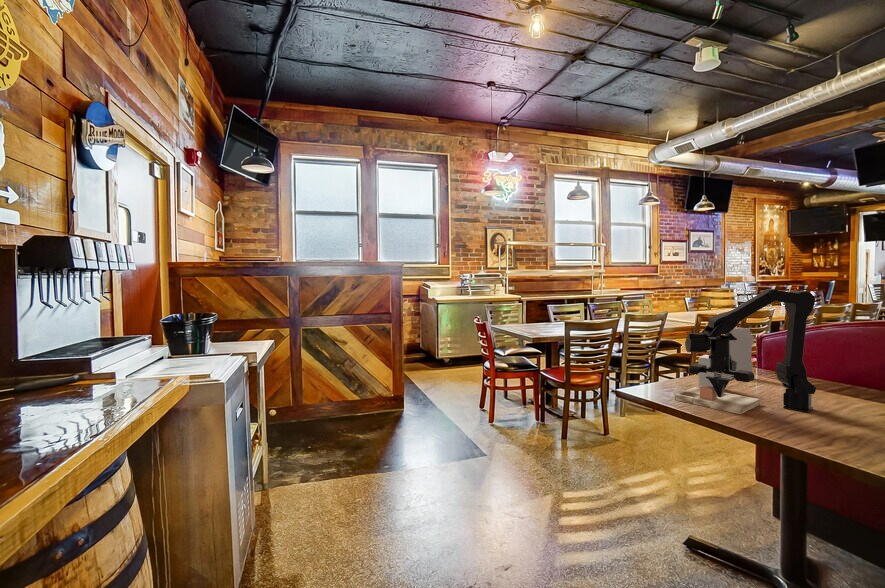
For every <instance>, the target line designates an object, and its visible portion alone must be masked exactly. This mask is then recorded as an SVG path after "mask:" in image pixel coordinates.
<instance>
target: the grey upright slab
mask: <svg viewBox="0 0 885 588" xmlns="http://www.w3.org/2000/svg"><path fill="white" fill-rule="evenodd" d="M729 333H732V335H733V336H734V337H735V338H737V340H730V355H731V357H732V360H733V361H735V362H737V366H736V371H739V370H744V371H751V372H753V371H754V369H753V360H752V351H753V350H752V349H753V345H754V343H755V342H754V341H755V340H754V339H755V336H754V335H752V333H751V329H750V328H746V327H745V328H744V327H737V326H736V327H735V328H734V329H733V330H732V331H731V332H729ZM730 371H731V370H730ZM736 371H732V372H736Z"/></svg>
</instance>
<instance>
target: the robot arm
mask: <svg viewBox="0 0 885 588" xmlns="http://www.w3.org/2000/svg"><path fill="white" fill-rule="evenodd" d="M773 302H778V303H783V304H784V310H785V312H786V315H787V317H788V320H787V329H786V337H785V338H786V341H785V351H784V358H783V360H782V361H781V362H778V361H777V362H775V366H776V367H775V372H774V374H775V375H776V378H777V380H779V383H780V382H781V383H782V386H783V388H786V389H785V391H784V392H783V395H782V396H783V397H782V398H783V400H782V401H783V408H784V409H787V410H791V411H792V410H793V411H798V412H803V413H809V412H811V411H812V410H813V409H814V407H813V406H812V401H813V400H812V395H814V394H815V393H816V391H817V388H816V386H815V385H813V383H811V382H810V381H809V380H808V374H807V373H808V372H807V371H808V370H807V368H806V366H805V364H804V349H805V341H806V340H805V339H806V333H807V332H806V330H807V321H808V318H809V317H810V315H811V313H812V312H813V310H814V307H815V303H816V297H815V295H813V294H812V293H811V292H809V291H801V290H791V291H785V290H784V291H783V290H778V289H774V288H766V289H763V290H762V291H761V292H760V293H759V294H757V295H755V296H753V297H751V298H750V299H749V300H747V301H745V302H743V303H741V304H740V305H738V306H736V307H735V308H733V309H732V310H728V311H724V312H722V313H717V314H716V315H714V316H711V317H710V318H709V319H708V322H707V325H706V326H705V327H704V329H703V330H702V331H701V332H699V333H693V332H688V333H687V336H686V338H685V341H684V348H685V351H686V352H687V353H707V352H708V351H709V354H708V355H709V359H710V367H709V368H707V366H706V365H701V364H699V363H694V364H691V365H689V366H688V368H687V371H688V372H687V373H688V374H692V375H699V373H700V372H702V373H707V376H706V378H707V379H709V381H710V382H711V384H712V385H713V387H714V389H715V391H716V393H717V395H718V397H722V395H723V393H725V390H726V388H727V386H728V384H729V383H730V382H732V381H734V380H735V381H736V382H742V383H750V382H752V381H755V374H754V372H753V371H752V372H751V371H744V370H739V371H736V366H737V362H735V361H733V360H732V357H731V355H730V340H737V338H735V337H734V336H733V335H732V333H729V332H731V331H732V330H733V329H734V328H737V326H738V325H739V324H740V323H741V322H742V321H743V320H744V319H746V318H748V317H750V316H751V315H753V314H754V313H757V312H758V311H760V310H761V309H763V308H765V307H766V306H767V307H768V305H771V304H772V303H773ZM730 370H731V371H730ZM732 371H736V372H732ZM720 375H721V376H720ZM721 377H722V378H721Z"/></svg>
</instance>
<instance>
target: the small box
mask: <svg viewBox="0 0 885 588" xmlns="http://www.w3.org/2000/svg"><path fill="white" fill-rule="evenodd" d="M709 355H710V354H703V355H700V356H699V357H698V364H701V365H706V366H707V368H709V367H710V359H709ZM706 376H707V373H702V372H700V373H699V374H698V388H700V387H701V386H703V385H708V386H713V385H712V384H711V382H710V381H709V379H707V378H706ZM720 376H721V375H720ZM721 378H722V377H721Z"/></svg>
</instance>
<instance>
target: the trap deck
mask: <svg viewBox="0 0 885 588" xmlns="http://www.w3.org/2000/svg"><path fill="white" fill-rule="evenodd" d="M760 400H761V399H760V398H755V397H750V396H745V395H740V394H735V393H729V392H724V393H723V395H722V397H718V395H717V399H714V400H707V399H702V398H700V388H698V387H696V386H694V387H692V388H689V389H686V390H684V391H681V392H678V393H675V394H674V401H677V402H678V401H679V402H683V403H688V404H690V405H691V404H692V405H697V406H701V407H704V408H705V407H706V408H710V409H715V410H719V411H722V412H724V411H725V412H729V413H733V414H738V415H742V414H744V413H746V412H748V411H750V410H752V409H754V408H756V407H759V406H760V405H761V401H760Z"/></svg>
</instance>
